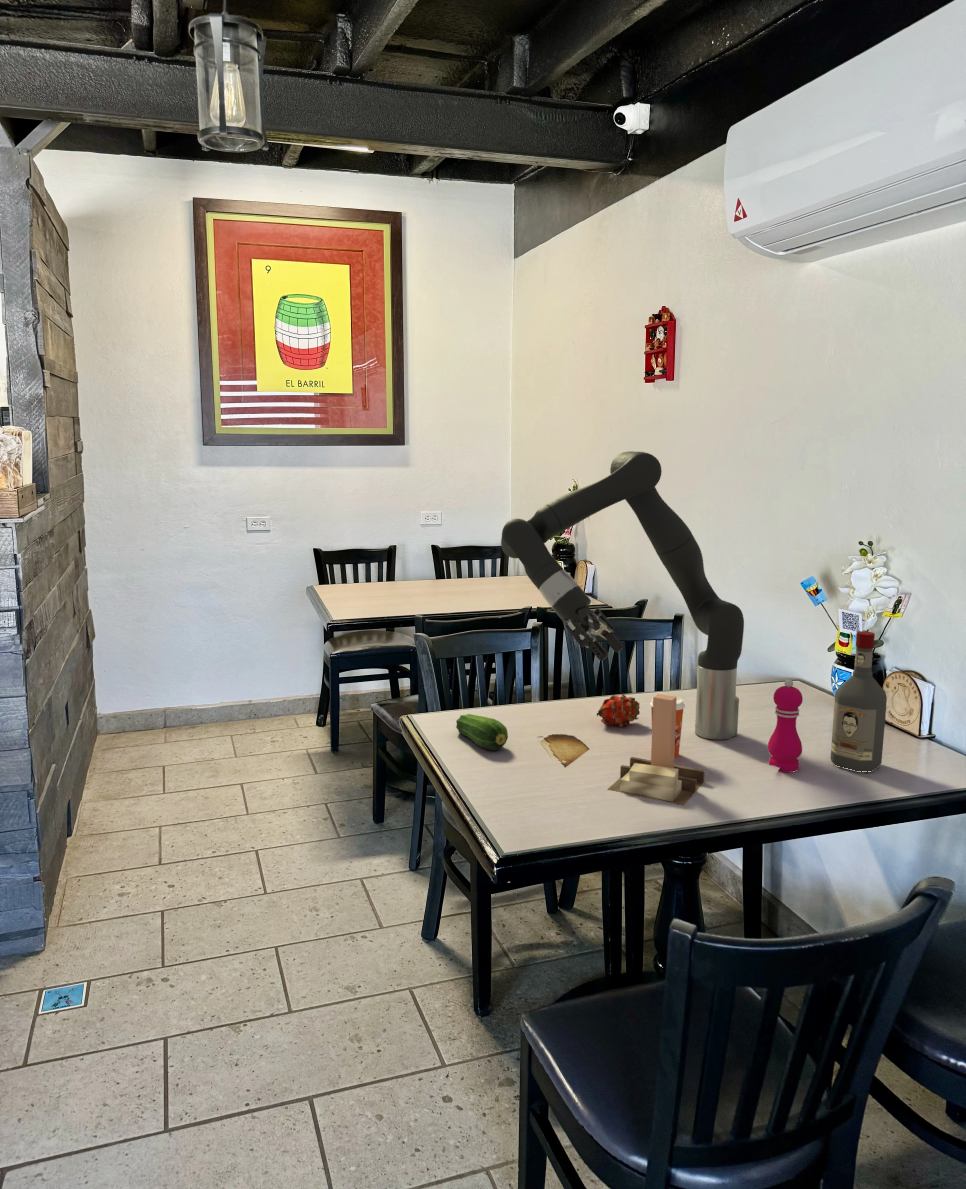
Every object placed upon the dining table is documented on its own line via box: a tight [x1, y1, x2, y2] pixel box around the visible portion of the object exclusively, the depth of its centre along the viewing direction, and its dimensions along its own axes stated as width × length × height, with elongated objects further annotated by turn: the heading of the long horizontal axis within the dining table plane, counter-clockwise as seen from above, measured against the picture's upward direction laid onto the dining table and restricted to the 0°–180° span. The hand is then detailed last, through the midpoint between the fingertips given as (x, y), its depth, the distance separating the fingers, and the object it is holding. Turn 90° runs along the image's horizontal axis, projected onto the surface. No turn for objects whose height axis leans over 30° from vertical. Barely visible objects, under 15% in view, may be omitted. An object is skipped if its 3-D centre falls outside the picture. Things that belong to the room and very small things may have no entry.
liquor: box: [830, 630, 888, 772], centre depth 194 cm, size 9×9×30 cm
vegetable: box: [455, 713, 509, 751], centre depth 212 cm, size 7×7×20 cm
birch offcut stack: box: [620, 763, 682, 802], centre depth 180 cm, size 11×6×5 cm, turn 60°
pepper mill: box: [767, 679, 803, 773], centre depth 194 cm, size 7×7×20 cm
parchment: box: [536, 733, 590, 768], centre depth 205 cm, size 25×10×1 cm, turn 10°
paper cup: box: [649, 696, 686, 760], centre depth 199 cm, size 8×8×14 cm
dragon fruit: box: [596, 693, 641, 728], centre depth 224 cm, size 8×8×12 cm
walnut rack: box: [607, 756, 706, 806], centre depth 183 cm, size 16×14×4 cm
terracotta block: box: [650, 693, 678, 768], centre depth 184 cm, size 4×3×18 cm
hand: (612, 654), depth 187 cm, fingers open, 8 cm apart
